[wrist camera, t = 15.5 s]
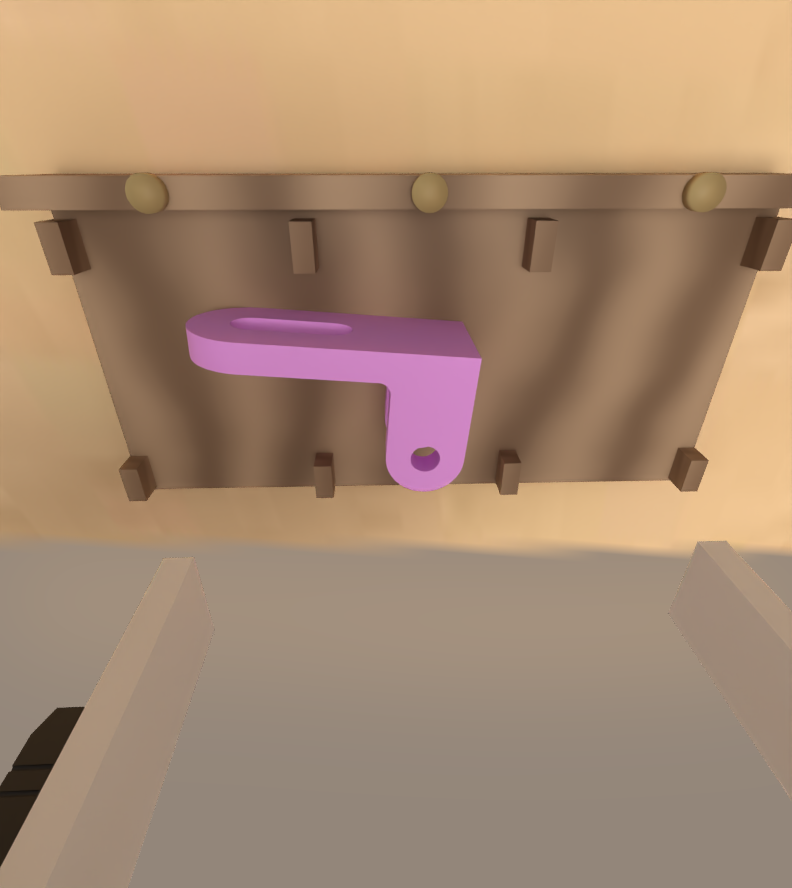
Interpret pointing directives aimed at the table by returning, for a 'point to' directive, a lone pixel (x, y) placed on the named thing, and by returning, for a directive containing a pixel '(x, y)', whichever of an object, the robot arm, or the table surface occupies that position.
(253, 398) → the ledge
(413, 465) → the bracket
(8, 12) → the table surface
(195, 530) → the table surface
